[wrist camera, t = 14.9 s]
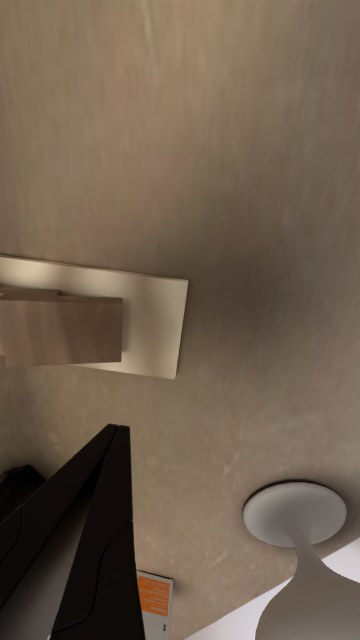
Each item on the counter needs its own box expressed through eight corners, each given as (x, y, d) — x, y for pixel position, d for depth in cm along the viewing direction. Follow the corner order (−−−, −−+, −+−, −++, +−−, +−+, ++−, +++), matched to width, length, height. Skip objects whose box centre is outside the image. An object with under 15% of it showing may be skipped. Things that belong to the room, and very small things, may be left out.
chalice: (256, 554, 31) (309, 818, 17) (216, 490, 27) (240, 768, 13) (364, 533, 28) (534, 830, 14) (336, 458, 24) (537, 771, 10)
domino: (122, 304, 17) (-7, 299, 14) (121, 362, 18) (6, 366, 16) (122, 297, 18) (5, 293, 16) (120, 352, 20) (15, 355, 18)
